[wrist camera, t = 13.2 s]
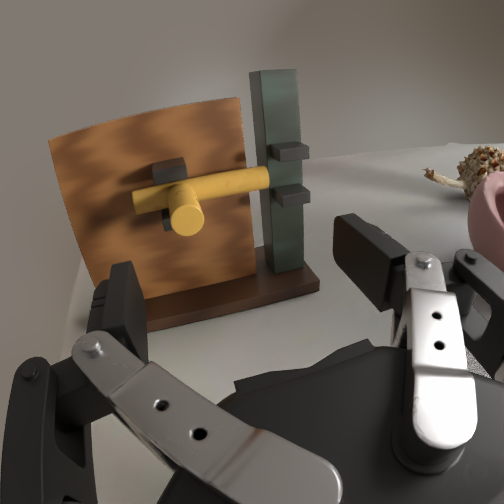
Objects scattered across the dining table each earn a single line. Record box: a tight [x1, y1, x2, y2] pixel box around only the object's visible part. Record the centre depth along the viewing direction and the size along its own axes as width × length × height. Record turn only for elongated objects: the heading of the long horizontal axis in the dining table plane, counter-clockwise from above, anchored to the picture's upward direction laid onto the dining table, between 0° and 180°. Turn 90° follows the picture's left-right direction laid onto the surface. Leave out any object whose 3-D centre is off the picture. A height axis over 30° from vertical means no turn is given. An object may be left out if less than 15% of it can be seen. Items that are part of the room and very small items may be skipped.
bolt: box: [132, 166, 269, 236], centre depth 21 cm, size 10×6×2 cm, turn 106°
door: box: [48, 69, 320, 332], centre depth 25 cm, size 20×8×19 cm, turn 106°
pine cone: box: [423, 145, 504, 201], centre depth 41 cm, size 22×10×10 cm, turn 102°
